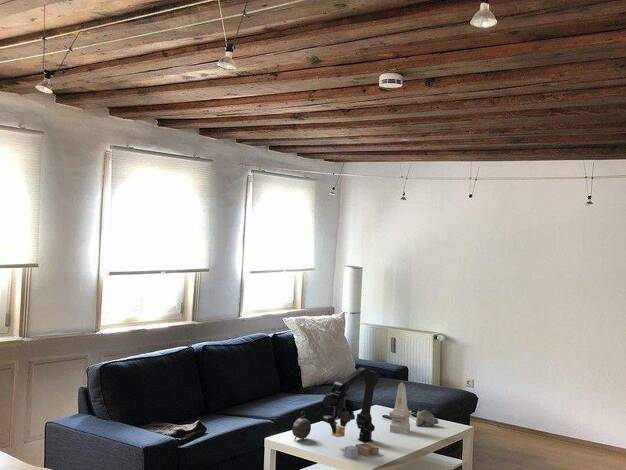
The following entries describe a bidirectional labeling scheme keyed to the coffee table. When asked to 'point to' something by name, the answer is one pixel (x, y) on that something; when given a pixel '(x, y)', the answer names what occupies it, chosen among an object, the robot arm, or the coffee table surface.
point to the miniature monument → (400, 413)
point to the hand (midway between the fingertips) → (338, 433)
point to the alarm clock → (301, 428)
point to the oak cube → (339, 431)
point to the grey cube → (351, 452)
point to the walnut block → (367, 449)
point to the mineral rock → (425, 418)
